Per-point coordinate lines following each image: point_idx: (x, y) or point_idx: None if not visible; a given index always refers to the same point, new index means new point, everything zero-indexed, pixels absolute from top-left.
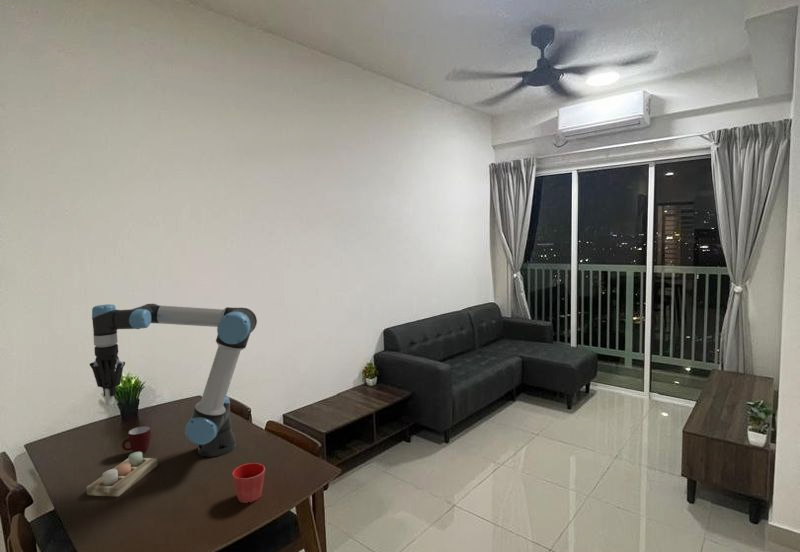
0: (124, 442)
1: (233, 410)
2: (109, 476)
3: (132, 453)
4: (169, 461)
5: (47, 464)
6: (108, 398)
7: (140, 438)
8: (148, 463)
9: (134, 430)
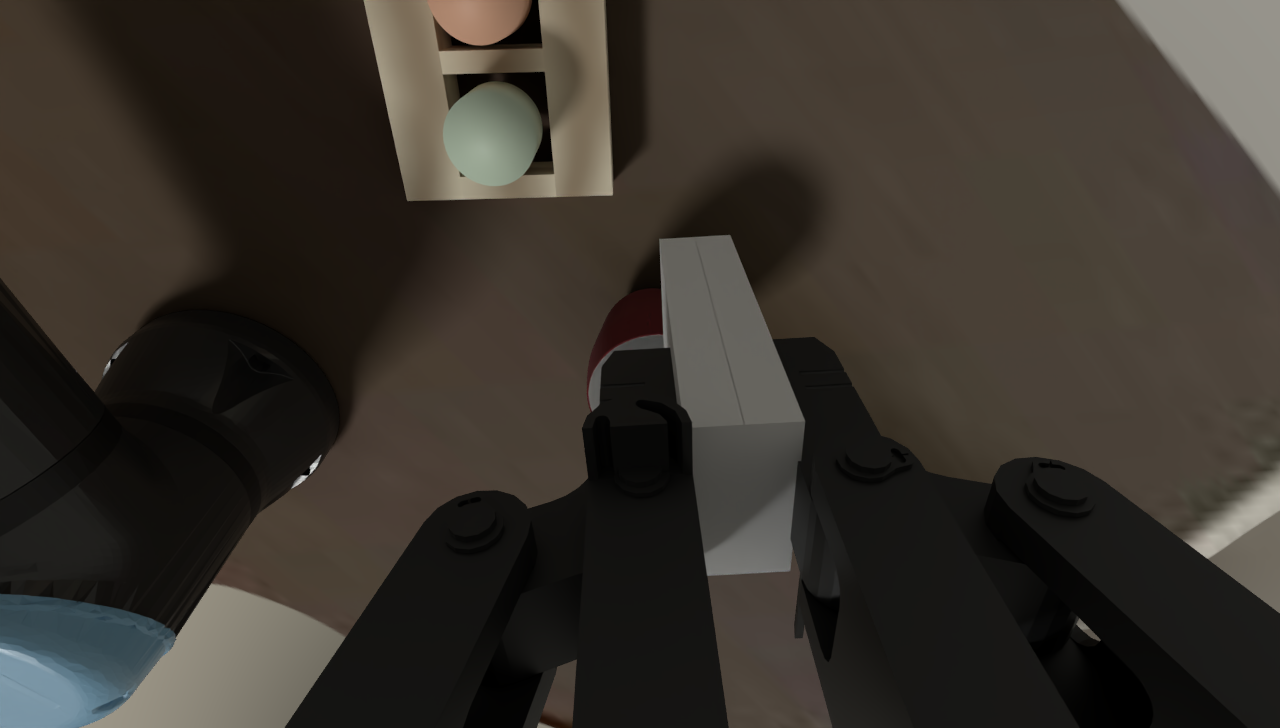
0: None
1: None
2: None
3: (526, 153)
4: (388, 240)
5: (1172, 126)
6: (678, 294)
7: (609, 331)
8: (406, 129)
9: None
